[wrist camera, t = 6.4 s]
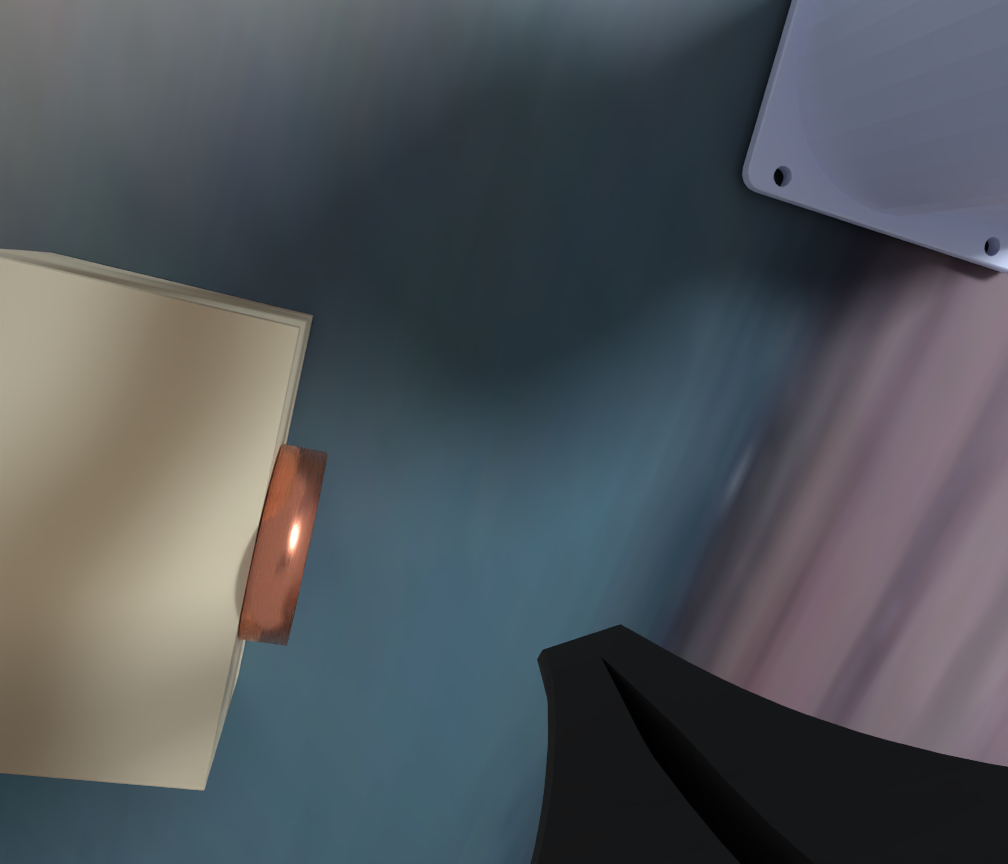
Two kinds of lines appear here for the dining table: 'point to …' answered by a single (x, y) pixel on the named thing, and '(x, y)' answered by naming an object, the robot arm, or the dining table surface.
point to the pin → (282, 545)
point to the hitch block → (129, 512)
